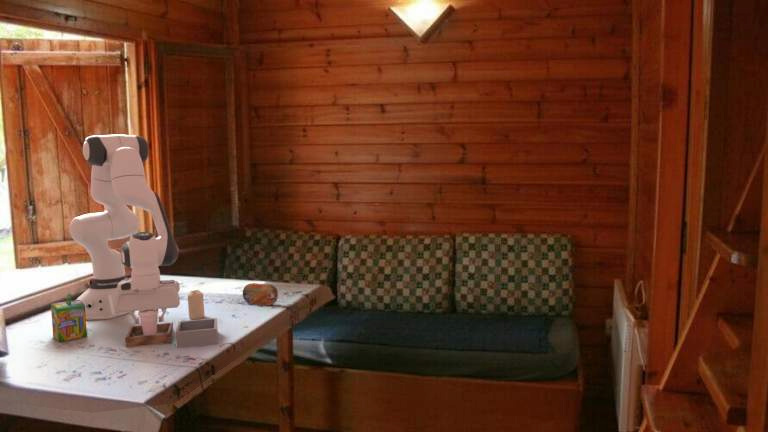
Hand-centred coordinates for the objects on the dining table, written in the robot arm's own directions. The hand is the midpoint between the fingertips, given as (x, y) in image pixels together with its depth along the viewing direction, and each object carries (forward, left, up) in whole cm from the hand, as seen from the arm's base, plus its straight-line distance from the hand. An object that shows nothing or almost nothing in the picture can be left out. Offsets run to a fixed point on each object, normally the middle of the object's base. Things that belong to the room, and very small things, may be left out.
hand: (149, 322), depth 218 cm
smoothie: (0, 0, -6) cm, 6 cm away
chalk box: (-27, +11, -6) cm, 30 cm away
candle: (+14, +22, -6) cm, 27 cm away
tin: (+38, +33, -6) cm, 51 cm away
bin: (+16, -6, -6) cm, 18 cm away
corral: (0, 0, -6) cm, 6 cm away
